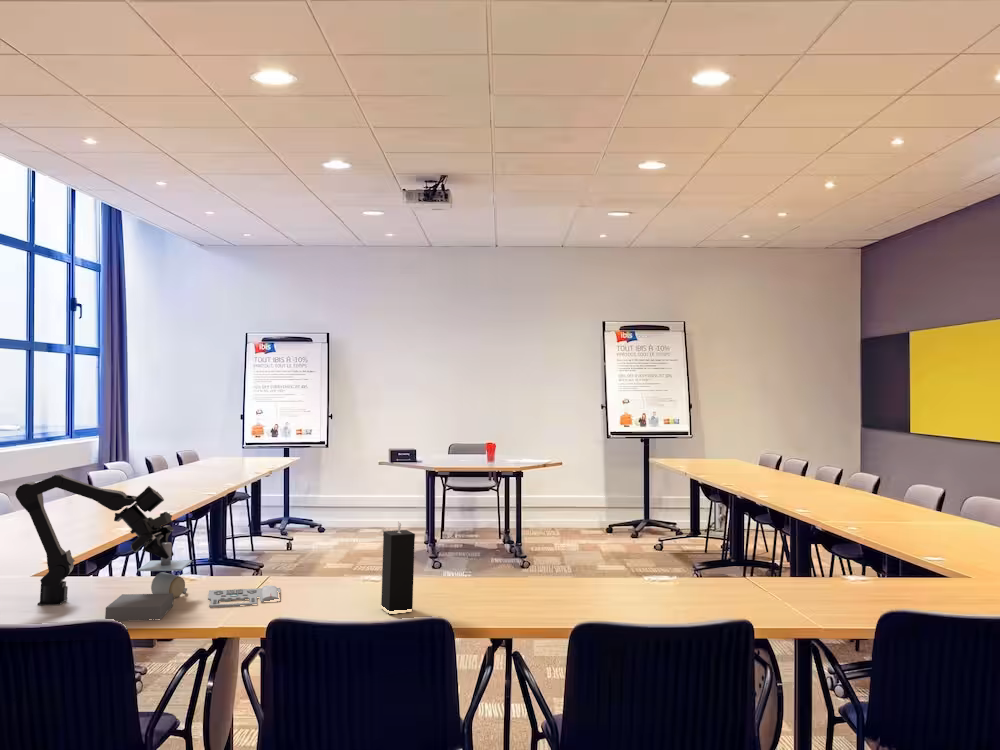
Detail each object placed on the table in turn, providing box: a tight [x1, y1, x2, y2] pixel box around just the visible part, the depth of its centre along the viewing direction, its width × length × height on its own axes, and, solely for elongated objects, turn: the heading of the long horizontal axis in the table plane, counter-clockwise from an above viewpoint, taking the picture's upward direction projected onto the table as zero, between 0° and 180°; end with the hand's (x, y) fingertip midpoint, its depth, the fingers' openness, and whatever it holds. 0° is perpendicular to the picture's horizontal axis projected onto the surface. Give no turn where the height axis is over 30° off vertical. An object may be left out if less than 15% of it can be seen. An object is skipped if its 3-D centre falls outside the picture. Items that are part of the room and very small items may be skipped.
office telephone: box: [207, 584, 281, 609], centre depth 244 cm, size 23×3×20 cm
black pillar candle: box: [380, 521, 416, 611], centre depth 234 cm, size 8×8×28 cm
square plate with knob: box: [137, 541, 193, 572], centre depth 241 cm, size 13×13×8 cm
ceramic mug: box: [150, 571, 188, 599], centre depth 245 cm, size 11×8×8 cm
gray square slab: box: [104, 593, 174, 622], centre depth 224 cm, size 15×15×4 cm
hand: (170, 556), depth 241 cm, fingers closed on square plate with knob, 3 cm apart
